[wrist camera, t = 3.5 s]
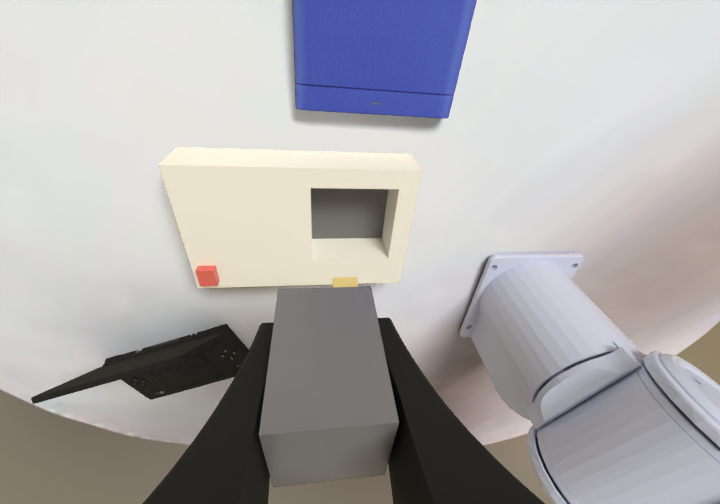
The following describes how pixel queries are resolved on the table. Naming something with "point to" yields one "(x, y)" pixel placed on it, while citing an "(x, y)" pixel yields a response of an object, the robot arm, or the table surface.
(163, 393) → the handheld gaming console
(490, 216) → the table surface
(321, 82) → the hard drive
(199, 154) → the socket plate
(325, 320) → the plug
